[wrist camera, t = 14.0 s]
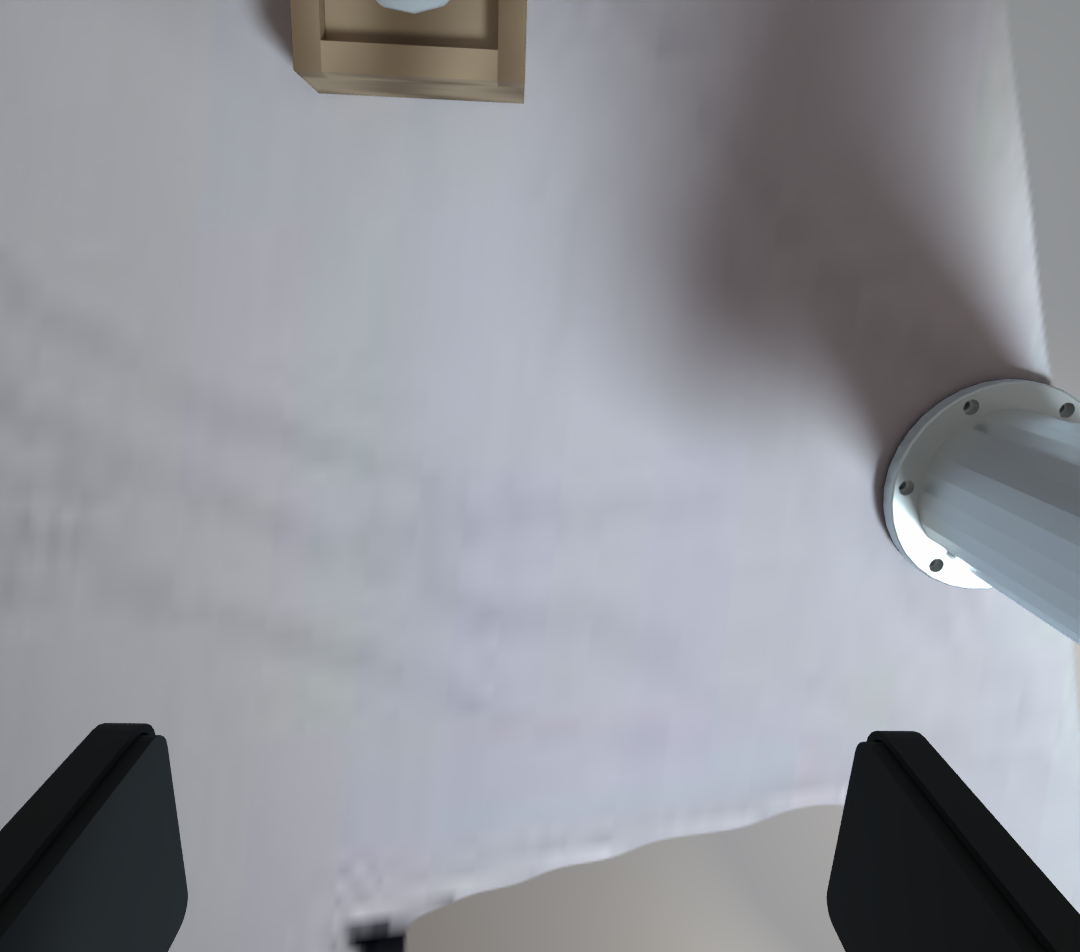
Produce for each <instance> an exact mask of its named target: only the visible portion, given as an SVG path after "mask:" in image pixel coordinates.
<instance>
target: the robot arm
mask: <svg viewBox="0 0 1080 952" xmlns="http://www.w3.org/2000/svg"><path fill="white" fill-rule="evenodd" d="M901 483H902V484H901ZM900 484H901V485H900ZM883 509H884V515H885V521H886V526H887V528H888V531H889V533H890V536H891V538H892V541H893V543H894V544H895V545H896V547H897V548H898V550H899V551H900V553H901V554H902V556H903V557H905V558H906V559H907V560H908V561H909V562H910V563H911V564H912V565H913V566H915V567H916V568H917V569H918V570H920V571H921V572H923V573H924V574H925V575H927V576H928V577H930V578H932V579H935V580H937V581H939V582H942V583H944V584H946V585H950V586H955V587H960V588H965V589H988V588H995V589H996V590H998V591H999V592H1001V593H1002V594H1004V595H1005V596H1007V597H1008V598H1010V599H1011V600H1013V601H1014V602H1016V603H1017V604H1019V605H1020V606H1022V607H1023V608H1025V609H1026V610H1028V611H1029V612H1031V613H1032V614H1034V615H1035V616H1037V617H1038V618H1040V619H1041V620H1043V621H1044V622H1046V623H1047V624H1049V625H1050V626H1052V627H1053V628H1055V629H1056V630H1058V631H1059V632H1061V633H1062V634H1064V635H1065V636H1067V637H1068V638H1070V639H1071V640H1073V641H1074V642H1076V643H1077V644H1079V645H1080V401H1079V400H1077V399H1076V398H1074V397H1073V396H1071V395H1070V394H1068V393H1067V392H1065V391H1064V390H1061V389H1058V388H1055V387H1053V386H1050V385H1047V384H1044V383H1039V382H1034V381H1029V380H1020V379H1001V380H994V381H988V382H982V383H979V384H977V385H974V386H971V387H968V388H965V389H962V390H960V391H958V392H957V393H955V394H953V395H951V396H949V397H947V398H946V399H944V400H942V401H941V402H940V403H938V404H937V405H936V406H934V407H933V408H932V409H931V410H929V411H928V412H927V413H925V414H924V415H923V416H922V417H921V419H920V420H919V421H918V422H917V423H916V424H915V425H914V426H913V427H912V428H911V429H910V430H909V432H908V433H907V435H906V436H905V438H904V439H903V441H902V442H901V444H900V445H899V447H898V448H897V450H896V453H895V455H894V457H893V460H892V462H891V464H890V466H889V469H888V473H887V477H886V481H885V486H884V499H883ZM187 900H188V891H187V884H186V876H185V869H184V862H183V855H182V848H181V840H180V833H179V826H178V819H177V811H176V804H175V797H174V790H173V782H172V775H171V768H170V761H169V753H168V746H167V742H166V739H165V738H164V736H161V735H155V732H154V729H153V728H152V726H151V725H149V724H139V723H104V724H100V725H98V726H97V727H96V728H95V729H93V730H92V731H91V732H90V734H89V735H88V736H87V737H86V738H85V739H84V740H83V741H82V742H81V743H80V744H79V746H78V747H77V748H76V749H75V750H74V751H73V752H72V753H71V754H70V755H69V756H68V758H67V759H66V760H65V761H64V762H63V763H62V764H61V765H60V766H59V767H58V768H57V770H56V771H55V772H54V773H53V774H52V775H51V776H50V777H49V778H48V779H47V780H46V782H45V783H44V784H43V785H42V786H41V787H40V788H39V789H38V790H37V791H36V792H35V794H34V795H33V796H32V797H31V798H30V799H29V800H28V801H27V802H26V803H25V804H24V806H23V807H22V808H21V809H20V810H19V811H18V812H17V813H16V814H15V815H14V816H13V818H12V819H11V820H10V821H9V822H8V823H7V824H6V825H5V826H4V827H3V828H2V830H1V831H0V952H168V950H169V948H170V946H171V944H172V943H173V941H174V939H175V937H176V935H177V933H178V931H179V929H180V927H181V924H182V922H183V919H184V916H185V912H186V907H187ZM827 906H828V912H829V916H830V919H831V922H832V924H833V927H834V928H835V931H836V933H837V935H838V937H839V939H840V941H841V943H842V945H843V947H844V949H845V951H846V952H1080V914H1079V913H1078V912H1077V911H1076V910H1075V908H1074V907H1073V906H1072V905H1071V904H1070V903H1069V902H1068V900H1067V899H1066V898H1065V897H1064V896H1063V895H1062V894H1061V892H1060V891H1059V890H1058V889H1057V888H1056V887H1055V886H1054V885H1053V883H1052V882H1051V881H1050V880H1049V879H1048V878H1047V877H1046V875H1045V874H1044V873H1043V872H1042V871H1041V870H1040V869H1039V867H1038V866H1037V865H1036V864H1035V863H1034V862H1033V861H1032V859H1031V858H1030V857H1029V856H1028V855H1027V854H1026V853H1025V851H1024V850H1023V849H1022V848H1021V847H1020V846H1019V845H1018V843H1017V842H1016V841H1015V840H1014V839H1013V838H1012V837H1011V835H1010V834H1009V833H1008V832H1007V831H1006V830H1005V829H1004V827H1003V826H1002V825H1001V824H1000V823H999V822H998V821H997V819H996V818H995V817H994V816H993V815H992V814H991V813H990V811H989V810H988V809H987V808H986V807H985V806H984V805H983V803H982V802H981V801H980V800H979V799H978V798H977V797H976V796H975V794H974V793H973V792H972V791H971V790H970V789H969V788H968V786H967V785H966V784H965V783H964V782H963V781H962V780H961V778H960V777H959V776H958V775H957V774H956V773H955V772H954V770H953V769H952V768H951V767H950V766H949V765H948V764H947V762H946V761H945V760H944V759H943V758H942V757H941V756H940V754H939V753H938V752H937V751H936V750H935V749H934V748H933V746H932V745H931V744H930V743H929V742H928V741H927V740H926V738H925V737H923V736H922V735H921V734H920V733H917V732H914V731H874V732H872V733H871V734H870V735H869V736H868V739H867V742H861V743H859V744H858V746H857V748H856V751H855V756H854V761H853V766H852V771H851V775H850V780H849V785H848V790H847V795H846V800H845V805H844V810H843V816H842V820H841V826H840V830H839V835H838V841H837V845H836V850H835V855H834V860H833V865H832V870H831V875H830V880H829V885H828V890H827Z"/></svg>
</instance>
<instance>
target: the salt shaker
mask: <svg viewBox="0 0 1080 952" xmlns="http://www.w3.org/2000/svg"><path fill="white" fill-rule="evenodd" d="M376 1H377V2H378V3H379V4H380V5H381V6H383V7H384V8H388V9H393V10H398V11H403V12H408V13H413V14H416V13H420V12H424V11H427V10H431V9H435V8H439V7H443V6H445V5H446V4H447V3H448V2H449V1H450V0H376Z"/></svg>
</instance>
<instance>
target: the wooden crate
mask: <svg viewBox="0 0 1080 952" xmlns="http://www.w3.org/2000/svg"><path fill="white" fill-rule="evenodd" d="M290 13H291V30H292V48H293V65H294V71H295V72H296V73H297V74H298V75H299V76H301V77H302V78H303V79H304V80H305V81H306V82H307V83H308V84H309V85H311V86H312V87H313V88H314V89H315V90H316V91H317V92H318V93H327V94H347V95H366V96H386V97H406V98H426V99H445V100H465V101H485V102H505V103H524V85H525V52H526V17H527V0H450V1H449V2H448V3H447V4H446V5H445V6H443V7H439V8H435V9H431V10H427V11H424V12H420V13H416V14H413V13H408V12H403V11H398V10H393V9H388V8H384V7H383V6H381V5H380V4H379V3H378V2H377V1H376V0H290Z"/></svg>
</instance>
